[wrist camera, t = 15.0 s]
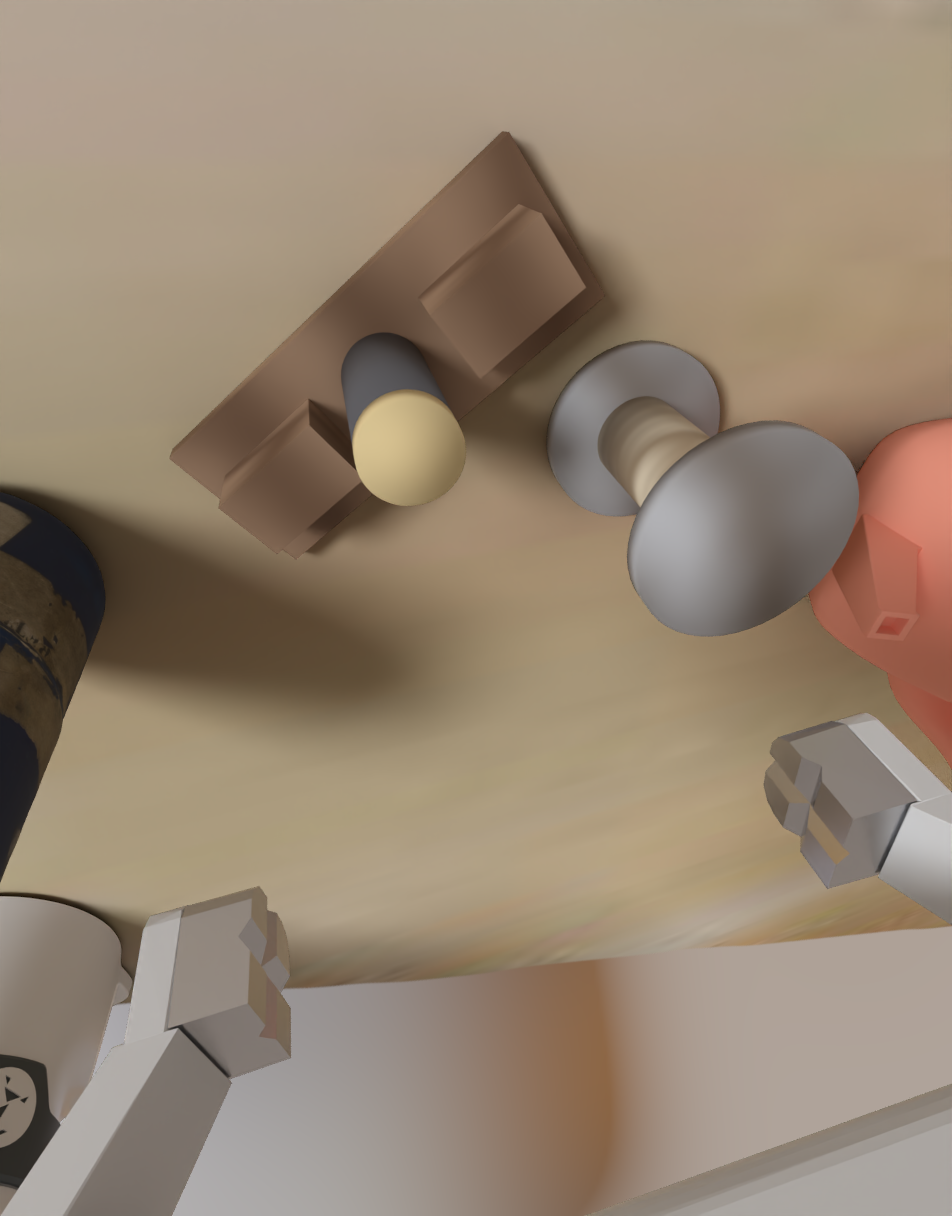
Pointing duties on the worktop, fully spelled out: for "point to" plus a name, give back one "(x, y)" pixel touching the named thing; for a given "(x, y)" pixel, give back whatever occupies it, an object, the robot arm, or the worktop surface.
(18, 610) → the canister
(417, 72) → the worktop surface
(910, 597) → the teapot
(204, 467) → the board
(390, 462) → the cylinder
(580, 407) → the bobbin
